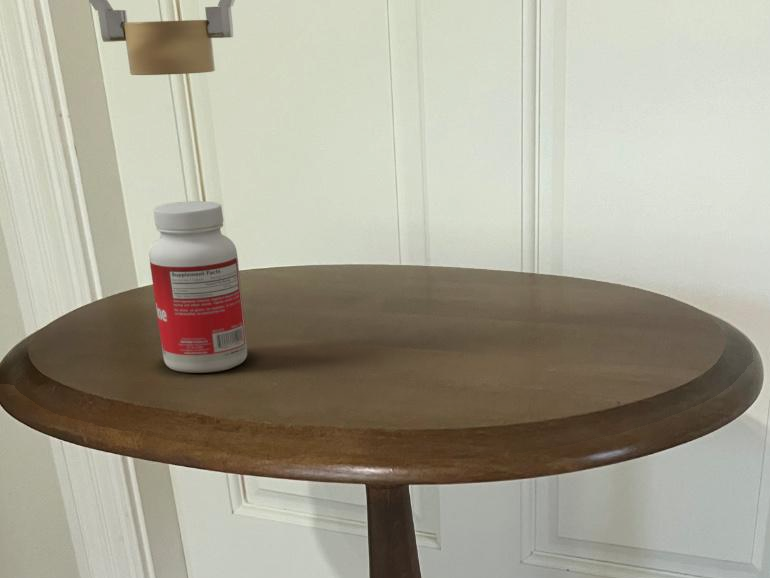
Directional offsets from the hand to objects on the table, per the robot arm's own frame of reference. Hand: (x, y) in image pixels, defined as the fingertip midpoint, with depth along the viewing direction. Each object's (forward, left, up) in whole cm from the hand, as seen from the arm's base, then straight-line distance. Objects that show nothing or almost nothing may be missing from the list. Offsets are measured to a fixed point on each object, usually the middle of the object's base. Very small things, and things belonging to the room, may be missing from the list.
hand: (169, 39), depth 71 cm
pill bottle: (0, 0, -22) cm, 22 cm away
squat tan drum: (0, 0, -2) cm, 2 cm away
